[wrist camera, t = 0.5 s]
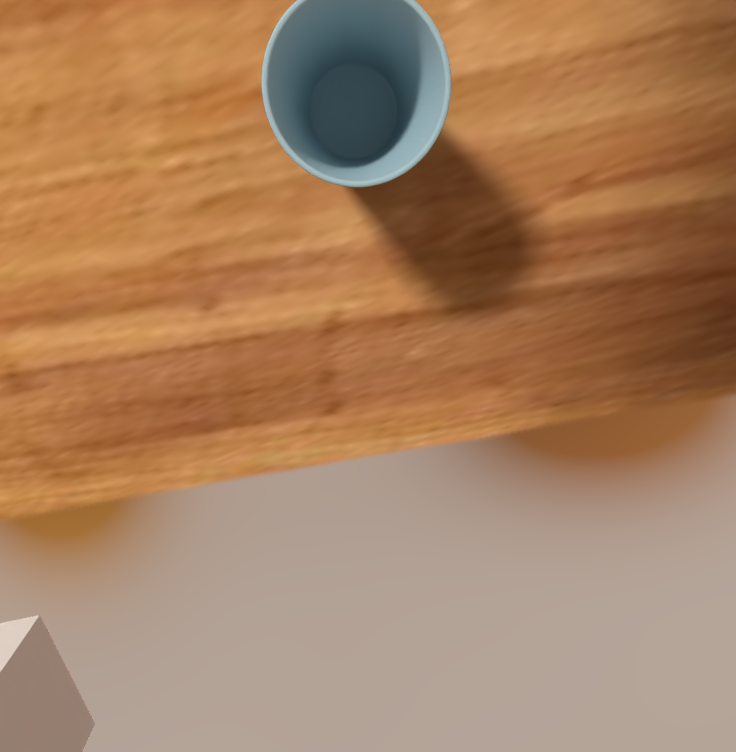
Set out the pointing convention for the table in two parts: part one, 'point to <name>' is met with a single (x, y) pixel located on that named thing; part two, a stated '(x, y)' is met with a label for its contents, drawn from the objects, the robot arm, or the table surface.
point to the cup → (356, 87)
